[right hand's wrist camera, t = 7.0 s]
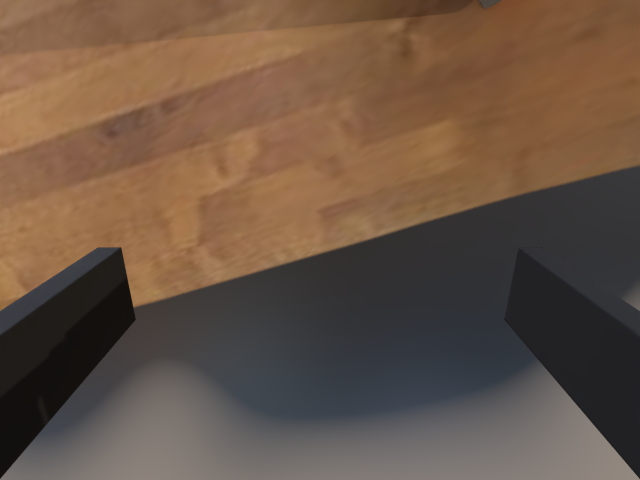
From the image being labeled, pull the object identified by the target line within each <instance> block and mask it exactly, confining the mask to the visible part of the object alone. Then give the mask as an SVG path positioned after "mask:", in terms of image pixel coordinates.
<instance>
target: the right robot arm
mask: <svg viewBox="0 0 640 480" xmlns="http://www.w3.org/2000/svg"><path fill="white" fill-rule="evenodd" d="M134 321H135V314H134V309H133V304H132V299H131V294H130V289H129V284H128V279H127V274H126V269H125V264H124V259H123V254H122V249H121V248H97V249H95V250H93V251H92V252H90V253H89V254H87V255H86V256H84V257H83V258H81V259H80V260H78V261H77V262H75V263H74V264H72V265H70V266H69V267H67V268H66V269H64V270H63V271H61V272H60V273H58V274H57V275H55V276H54V277H52V278H50V279H49V280H47V281H46V282H44V283H43V284H41V285H40V286H38V287H37V288H35V289H34V290H32V291H30V292H29V293H27V294H26V295H24V296H23V297H21V298H20V299H18V300H17V301H15V302H14V303H12V304H11V305H9V306H7V307H6V308H4V309H3V310H1V311H0V478H1V477H2V476H3V475H4V474H5V473H6V471H7V470H8V469H9V468H10V467H11V465H12V464H13V463H14V462H15V461H16V460H17V458H18V457H19V456H20V455H21V454H22V453H23V451H24V450H25V449H26V448H27V447H28V446H29V444H30V443H31V442H32V441H33V440H34V438H35V437H36V436H37V435H38V434H39V433H40V431H41V430H42V429H43V428H44V427H45V426H46V424H47V423H48V422H49V421H50V420H51V418H52V417H53V416H54V415H55V414H56V413H57V411H58V410H59V409H60V408H61V407H62V405H63V404H64V403H65V402H66V401H67V400H68V399H69V397H70V396H71V395H72V394H73V393H74V391H75V390H76V389H77V388H78V387H79V386H80V384H81V383H82V382H83V381H84V380H85V379H86V377H87V376H88V375H89V374H90V373H91V372H92V370H93V369H94V368H95V367H96V366H97V364H98V363H99V362H100V361H101V360H102V359H103V357H104V356H105V355H106V354H107V353H108V352H109V350H110V349H111V348H112V347H113V346H114V344H115V343H116V342H117V341H118V340H119V339H120V337H121V336H122V335H123V334H124V333H125V332H126V330H127V329H128V328H129V327H130V326H131V324H132V323H133V322H134ZM505 321H506V322H507V323H508V325H509V326H510V327H511V328H512V329H513V330H514V332H515V333H516V334H517V335H518V336H519V337H520V339H521V340H522V341H523V342H524V343H525V344H526V346H527V347H528V348H529V349H530V350H531V352H532V353H533V354H534V355H535V356H536V357H537V359H538V360H539V361H540V362H541V363H542V364H543V366H544V367H545V368H546V369H547V370H548V372H549V373H550V374H551V375H552V376H553V377H554V379H555V380H556V381H557V382H558V383H559V384H560V386H561V387H562V388H563V389H564V390H565V391H566V393H567V394H568V395H569V396H570V397H571V399H572V400H573V401H574V402H575V403H576V404H577V406H578V407H579V408H580V409H581V410H582V411H583V413H584V414H585V415H586V416H587V417H588V418H589V420H590V421H591V422H592V423H593V424H594V426H595V427H596V428H597V429H598V430H599V431H600V433H601V434H602V435H603V436H604V437H605V438H606V440H607V441H608V442H609V443H610V444H611V446H612V447H613V448H614V449H615V450H616V451H617V453H618V454H619V455H620V456H621V457H622V458H623V460H624V461H625V462H626V463H627V464H628V465H629V467H630V468H631V469H632V470H633V471H634V472H635V474H636V475H637V476H638V477H639V478H640V311H639V310H637V309H636V308H634V307H633V306H631V305H629V304H628V303H626V302H625V301H623V300H622V299H620V298H619V297H617V296H616V295H614V294H613V293H611V292H609V291H608V290H606V289H605V288H603V287H602V286H600V285H599V284H597V283H596V282H594V281H593V280H591V279H590V278H588V277H586V276H585V275H583V274H582V273H580V272H579V271H577V270H576V269H574V268H573V267H571V266H569V265H568V264H566V263H565V262H563V261H562V260H560V259H559V258H557V257H556V256H554V255H553V254H551V253H550V252H548V251H547V250H545V249H543V248H519V249H518V254H517V259H516V264H515V269H514V274H513V279H512V284H511V289H510V294H509V299H508V304H507V309H506V314H505Z"/></svg>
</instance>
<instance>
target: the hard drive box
mask: <svg viewBox="0 0 640 480" xmlns="http://www.w3.org/2000/svg"><path fill="white" fill-rule="evenodd" d="M500 1H502V0H479V2H480V4H481V5H482V7H483V8H484V9H486V8H488V7H490V6H492V5H494V4H496V3H498V2H500Z"/></svg>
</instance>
